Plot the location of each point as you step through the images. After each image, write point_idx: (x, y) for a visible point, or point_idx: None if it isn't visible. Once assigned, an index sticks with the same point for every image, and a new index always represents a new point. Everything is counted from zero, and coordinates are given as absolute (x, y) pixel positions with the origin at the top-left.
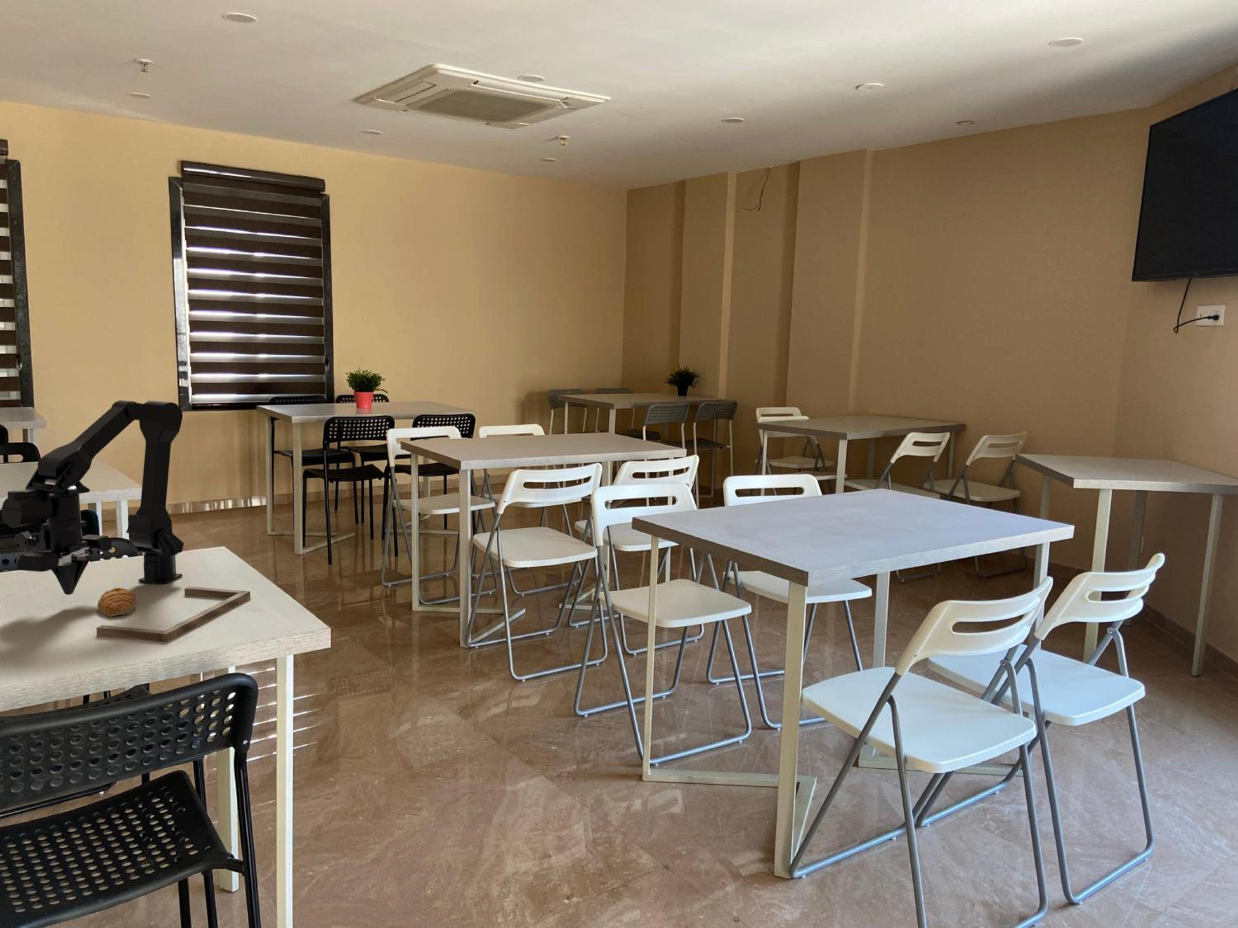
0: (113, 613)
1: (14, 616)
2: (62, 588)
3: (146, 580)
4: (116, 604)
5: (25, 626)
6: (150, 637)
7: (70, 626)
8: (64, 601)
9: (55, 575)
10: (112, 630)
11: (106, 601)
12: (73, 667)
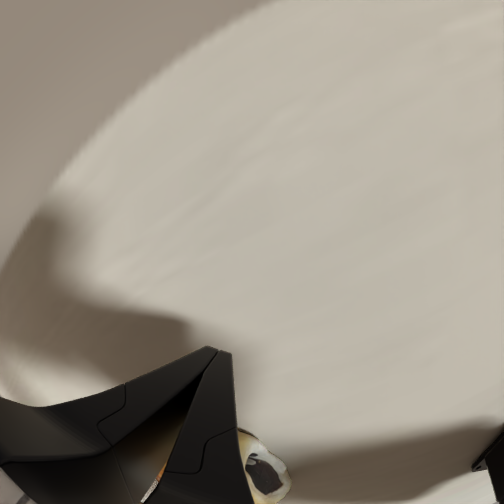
0: None
1: (89, 158)
2: (179, 360)
3: (502, 437)
4: (157, 478)
5: (37, 265)
6: None
7: (73, 377)
8: (322, 262)
9: (85, 398)
10: None
11: (164, 468)
12: (7, 394)
